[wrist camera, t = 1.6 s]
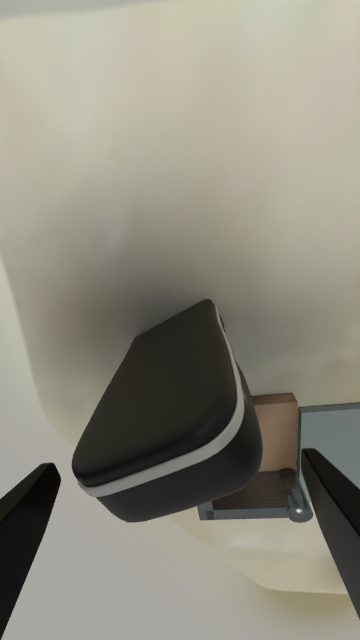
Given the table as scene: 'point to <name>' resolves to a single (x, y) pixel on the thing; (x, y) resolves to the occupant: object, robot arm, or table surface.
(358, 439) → the end mat
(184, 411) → the battery charger
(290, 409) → the rail board
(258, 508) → the bent rail
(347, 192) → the table surface
